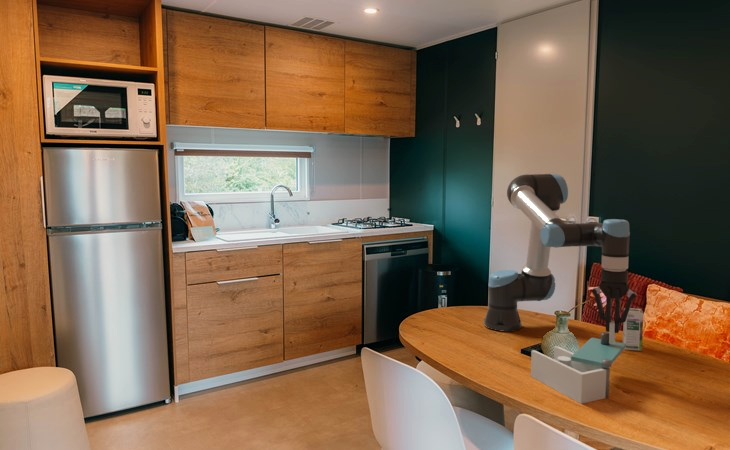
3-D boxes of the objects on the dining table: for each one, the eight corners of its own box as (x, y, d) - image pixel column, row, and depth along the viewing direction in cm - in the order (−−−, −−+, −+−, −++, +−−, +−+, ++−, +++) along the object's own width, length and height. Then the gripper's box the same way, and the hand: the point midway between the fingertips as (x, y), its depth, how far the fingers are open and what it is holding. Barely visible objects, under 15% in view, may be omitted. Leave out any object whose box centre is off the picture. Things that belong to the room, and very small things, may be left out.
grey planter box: (557, 371, 171) (557, 345, 170) (610, 397, 151) (611, 369, 150) (530, 376, 167) (531, 350, 166) (581, 404, 147) (582, 375, 146)
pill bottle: (574, 384, 161) (575, 358, 160) (568, 389, 157) (569, 362, 156) (559, 380, 164) (560, 354, 163) (553, 384, 160) (553, 358, 159)
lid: (628, 347, 166) (628, 333, 165) (610, 369, 149) (610, 353, 148) (591, 340, 173) (592, 327, 172) (570, 361, 155) (570, 345, 155)
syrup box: (624, 349, 190) (626, 311, 188) (622, 344, 195) (623, 306, 193) (642, 351, 188) (643, 312, 186) (639, 346, 193) (641, 308, 192)
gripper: (639, 268, 162) (636, 342, 165) (594, 265, 169) (592, 335, 172) (636, 273, 156) (633, 349, 158) (590, 269, 163) (587, 342, 165)
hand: (612, 341), depth 165 cm, fingers closed
